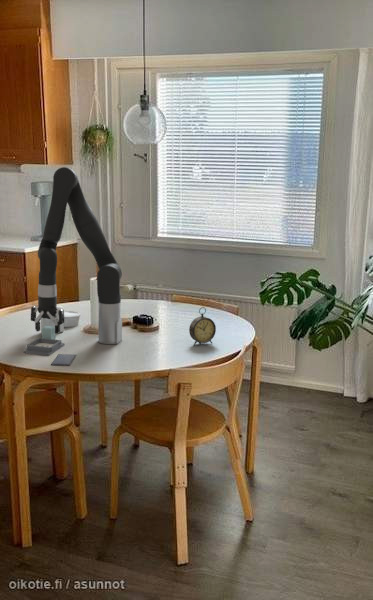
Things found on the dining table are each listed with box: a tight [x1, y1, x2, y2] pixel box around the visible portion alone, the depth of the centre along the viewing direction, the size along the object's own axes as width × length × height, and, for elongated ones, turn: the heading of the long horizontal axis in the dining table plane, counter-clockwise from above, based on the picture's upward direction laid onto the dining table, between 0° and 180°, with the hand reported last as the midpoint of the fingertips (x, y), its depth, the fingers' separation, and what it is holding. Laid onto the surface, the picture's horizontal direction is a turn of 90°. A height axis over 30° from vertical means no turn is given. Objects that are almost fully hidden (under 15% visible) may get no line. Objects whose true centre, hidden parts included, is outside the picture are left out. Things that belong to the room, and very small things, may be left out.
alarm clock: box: [188, 306, 217, 347], centre depth 248 cm, size 11×5×16 cm, turn 117°
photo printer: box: [40, 304, 65, 335], centre depth 258 cm, size 10×4×12 cm, turn 123°
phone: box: [50, 353, 77, 367], centre depth 224 cm, size 7×12×1 cm, turn 179°
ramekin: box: [64, 310, 81, 328], centre depth 271 cm, size 11×11×5 cm
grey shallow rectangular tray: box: [22, 337, 66, 356], centre depth 236 cm, size 11×14×3 cm
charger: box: [41, 326, 56, 340], centre depth 246 cm, size 4×4×6 cm
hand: (47, 332), depth 246 cm, fingers open, 8 cm apart
